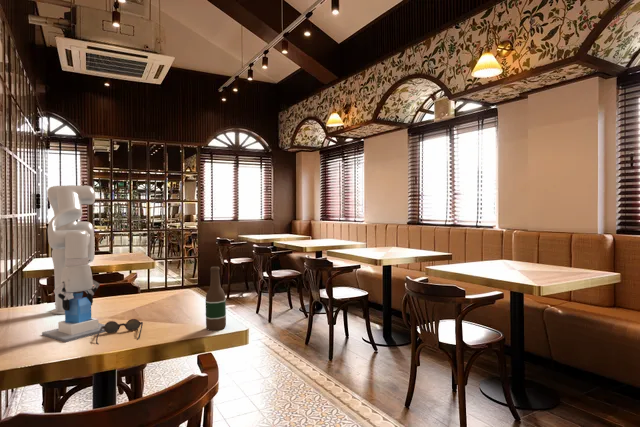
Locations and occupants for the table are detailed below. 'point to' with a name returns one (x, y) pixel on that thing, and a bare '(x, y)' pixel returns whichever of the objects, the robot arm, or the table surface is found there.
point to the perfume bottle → (78, 309)
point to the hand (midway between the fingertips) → (78, 307)
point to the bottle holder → (75, 330)
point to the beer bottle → (215, 303)
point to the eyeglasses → (114, 327)
